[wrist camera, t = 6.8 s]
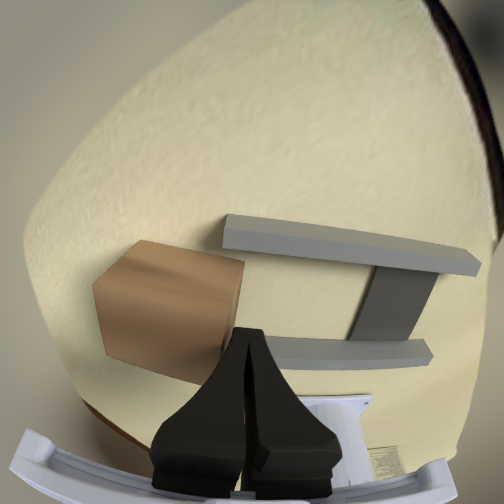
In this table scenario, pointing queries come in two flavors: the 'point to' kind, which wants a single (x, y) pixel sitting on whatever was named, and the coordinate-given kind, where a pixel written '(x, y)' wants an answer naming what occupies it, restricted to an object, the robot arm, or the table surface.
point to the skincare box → (386, 463)
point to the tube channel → (376, 299)
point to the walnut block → (169, 309)
